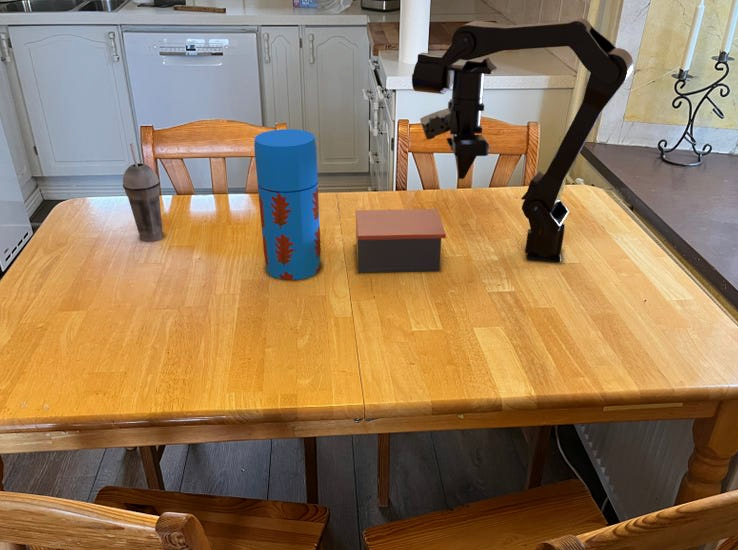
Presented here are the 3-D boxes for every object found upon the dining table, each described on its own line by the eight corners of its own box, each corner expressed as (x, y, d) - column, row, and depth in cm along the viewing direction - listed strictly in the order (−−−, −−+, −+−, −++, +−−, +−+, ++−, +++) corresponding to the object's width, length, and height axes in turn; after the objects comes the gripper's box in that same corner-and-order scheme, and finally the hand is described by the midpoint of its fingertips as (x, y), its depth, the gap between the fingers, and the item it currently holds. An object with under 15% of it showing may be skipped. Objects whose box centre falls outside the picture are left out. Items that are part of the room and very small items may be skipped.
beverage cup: (173, 230, 148) (158, 137, 137) (162, 244, 142) (144, 148, 131) (141, 229, 149) (122, 136, 138) (128, 243, 143) (107, 147, 132)
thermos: (312, 283, 128) (305, 148, 114) (257, 277, 130) (244, 144, 116) (327, 258, 137) (322, 130, 123) (275, 253, 138) (265, 127, 124)
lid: (437, 212, 138) (437, 208, 138) (445, 238, 128) (445, 234, 128) (355, 213, 138) (355, 210, 137) (357, 239, 127) (357, 235, 127)
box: (431, 243, 142) (433, 212, 138) (439, 271, 132) (441, 238, 128) (356, 245, 142) (355, 214, 138) (358, 272, 131) (357, 240, 127)
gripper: (419, 85, 136) (416, 163, 145) (430, 110, 120) (426, 195, 129) (475, 85, 136) (468, 163, 145) (493, 109, 121) (485, 194, 129)
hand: (461, 178), depth 137 cm, fingers closed
